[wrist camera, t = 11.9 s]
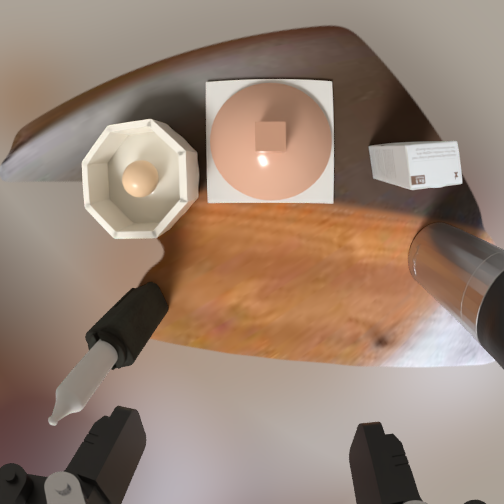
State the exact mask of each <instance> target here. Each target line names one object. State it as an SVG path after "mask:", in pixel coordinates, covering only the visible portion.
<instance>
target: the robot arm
mask: <svg viewBox="0 0 504 504" xmlns="http://www.w3.org/2000/svg"><path fill="white" fill-rule="evenodd" d="M408 263H409V269H410V272H411V274H412V276H413V278H414V279H415V280H416V281H417V282H418V283H419V284H420V285H421V286H422V287H423V288H424V289H425V290H426V291H427V292H428V293H429V294H430V295H432V296H433V297H434V298H435V299H436V300H437V301H438V302H439V303H440V304H441V305H442V306H443V307H444V308H445V309H446V310H447V311H448V312H449V313H450V314H451V315H452V316H453V317H454V318H455V319H456V320H457V321H458V322H459V323H460V324H461V325H462V326H463V327H464V328H465V329H466V330H467V331H468V332H469V333H470V334H471V335H472V336H473V337H474V338H475V339H476V340H477V342H478V343H479V344H480V345H481V346H482V347H483V348H484V349H485V350H486V351H487V352H488V353H489V354H490V355H491V356H492V357H493V358H494V359H495V360H496V361H497V362H498V363H499V365H500V366H501V367H502V368H503V369H504V250H503V249H501V248H499V247H497V246H495V245H493V244H491V243H489V242H486V241H484V240H482V239H480V238H478V237H476V236H473V235H471V234H469V233H467V232H465V231H463V230H460V229H458V228H456V227H453V226H451V225H449V224H446V223H440V222H438V223H432V224H430V225H428V226H426V227H425V228H423V229H422V230H421V231H420V232H419V233H418V234H417V235H416V237H415V239H414V240H413V242H412V245H411V247H410V251H409V257H408ZM145 446H146V434H145V431H144V428H143V425H142V422H141V419H140V416H139V413H138V411H137V410H136V409H131V408H126V407H121V406H117V407H116V408H115V409H114V411H113V412H112V414H111V416H110V417H108V416H103V417H102V418H101V419H99V420H98V421H97V422H95V423H94V425H93V426H92V428H91V430H90V431H89V434H87V436H86V437H85V439H84V442H82V444H81V445H80V447H79V449H78V450H77V452H76V454H75V455H74V457H73V458H72V460H71V462H70V463H69V465H68V467H67V468H66V470H65V471H64V472H56V473H53V474H52V475H50V476H49V477H43V476H36V475H30V474H27V473H26V472H25V471H24V469H23V468H22V467H21V466H19V465H17V464H14V463H10V464H6V465H4V466H2V467H1V468H0V504H121V503H122V500H123V498H124V496H125V493H126V491H127V489H128V486H129V484H130V482H131V479H132V477H133V475H134V472H135V470H136V468H137V465H138V463H139V461H140V458H141V456H142V454H143V451H144V449H145ZM349 462H350V468H351V474H352V479H353V485H354V491H355V497H356V503H357V504H427V503H426V502H423V501H422V499H421V498H420V496H419V493H418V490H417V487H416V484H415V480H414V477H413V474H412V471H411V468H410V466H409V465H408V460H407V457H406V456H405V451H404V449H403V445H402V443H401V442H400V441H399V440H398V438H397V437H396V436H395V435H394V434H386V435H385V433H384V430H383V427H382V425H381V423H380V422H372V423H361V424H359V425H358V427H357V431H356V433H355V436H354V439H353V442H352V445H351V447H350V453H349ZM464 504H486V503H484V502H482V501H480V500H470V501H468V502H466V503H464Z"/></svg>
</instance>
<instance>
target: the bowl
mask: <svg viewBox="0 0 504 504" xmlns="http://www.w3.org/2000/svg"><path fill="white" fill-rule="evenodd" d="M138 160H144V161H148V162H150V163H151V164H153V165H154V166H155V168H156V169H157V172H158V176H159V180H158V184H157V187H156V189H155V190H154V191H153V192H152V193H151V194H149V195H148V196H145V197H134V196H132V195H130V194H129V193H127V192H126V190H125V189H124V187H123V184H122V176H123V172H124V170H125V169H126V167H127V166H128V165H129V164H131V163H132V162H134V161H138ZM82 177H83V193H84V205H85V208H86V210H87V211H88V212H89V213H90V214H91V215H92V216H93V217H94V218H95V219H96V220H97V221H98V222H99V223H100V224H101V226H102V227H103V228H104V229H105V230H106V231H107V232H108V233H109V234H110V235H111V236H112V237H113V238H114V239H128V238H129V239H130V238H131V239H132V238H158V237H159V236H160V235H162V234H163V233H165V232H166V231H168V230H169V229H171V227H172V226H173V225H174V224H175V223H176V222H177V221H178V219H179V218H180V217H182V216H183V215H184V214H185V213H186V212H187V210H188V209H189V208H190V206H191V205H192V204H193V203H194V202H195V201H196V199H197V198H198V197H199V195H198V188H199V181H200V172H199V165H198V160H197V152H196V151H195V150H194V149H193V148H192V147H191V146H190V145H189V143H188V142H187V141H186V140H185V139H184V138H183V137H182V136H180V135H179V134H178V133H176V132H175V131H174V130H173V129H172V128H170V127H169V126H168V125H167V124H165V123H162V122H159V121H156V120H153V119H146V120H139V121H132V122H126V123H120V124H114V125H108V126H107V127H106V129H105V130H104V131H103V133H102V134H101V136H100V137H99V138H98V140H97V141H96V143H95V144H94V145H93V147H92V148H91V150H90V151H89V153H88V154H87V155H86V157H85V158H84V160H83V161H82Z"/></svg>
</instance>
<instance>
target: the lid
mask: <svg viewBox="0 0 504 504" xmlns="http://www.w3.org/2000/svg"><path fill="white" fill-rule="evenodd" d="M331 147H332V138H331V131H330V126H329V123H328V121H327V118H326V116H325V114H324V113H323V111H322V110H321V108H320V107H319V105H318V104H317V103H316V102H315V101H314V100H313V99H312V98H311V97H309V96H308V95H307V94H305V93H304V92H302V91H301V90H298V89H296V88H294V87H292V86H288V85H285V84H280V83H261V84H256V85H252V86H249V87H246V88H244V89H242V90H240V91H238V92H237V93H235V94H234V95H233V96H231V97H230V98H229V99H228V100H227V101H226V102H225V103H224V104H223V105H222V107H221V108H220V110H219V111H218V113H217V115H216V117H215V119H214V122H213V125H212V128H211V134H210V148H211V154H212V158H213V160H214V163H215V165H216V167H217V169H218V171H219V173H220V174H221V175H222V177H223V178H224V179H225V180H226V181H227V182H228V184H230V185H231V186H232V187H233V188H234V189H236V190H238V191H239V192H241V193H243V194H245V195H247V196H250V197H253V198H256V199H261V200H271V201H272V200H282V199H287V198H290V197H293V196H296V195H298V194H300V193H302V192H304V191H305V190H307V189H308V188H309V187H311V186H312V185H313V184H314V183H315V182H316V181H317V180H318V179H319V178H320V176H321V175H322V173H323V172H324V170H325V168H326V166H327V164H328V161H329V158H330V154H331Z"/></svg>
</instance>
